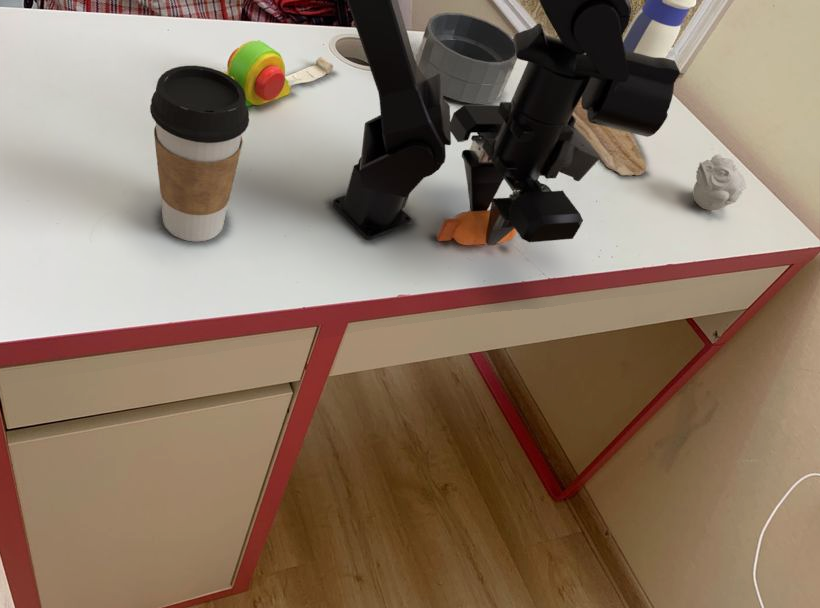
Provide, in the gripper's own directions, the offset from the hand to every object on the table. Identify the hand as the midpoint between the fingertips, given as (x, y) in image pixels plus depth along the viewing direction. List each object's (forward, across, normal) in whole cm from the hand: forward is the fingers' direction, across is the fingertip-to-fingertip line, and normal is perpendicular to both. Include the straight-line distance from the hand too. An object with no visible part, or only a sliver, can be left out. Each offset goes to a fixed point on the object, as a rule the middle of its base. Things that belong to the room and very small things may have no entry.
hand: (483, 232), depth 78 cm
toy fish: (+1, 0, 0) cm, 1 cm away
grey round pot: (+1, +32, -12) cm, 34 cm away
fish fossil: (+1, +22, -30) cm, 38 cm away
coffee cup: (+1, +5, +31) cm, 31 cm away
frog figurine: (+1, +3, -36) cm, 36 cm away
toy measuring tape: (+1, +29, +16) cm, 33 cm away
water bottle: (+1, +34, -44) cm, 55 cm away
